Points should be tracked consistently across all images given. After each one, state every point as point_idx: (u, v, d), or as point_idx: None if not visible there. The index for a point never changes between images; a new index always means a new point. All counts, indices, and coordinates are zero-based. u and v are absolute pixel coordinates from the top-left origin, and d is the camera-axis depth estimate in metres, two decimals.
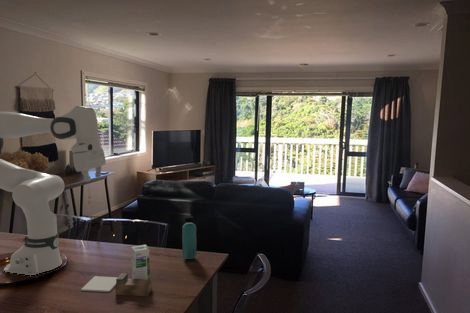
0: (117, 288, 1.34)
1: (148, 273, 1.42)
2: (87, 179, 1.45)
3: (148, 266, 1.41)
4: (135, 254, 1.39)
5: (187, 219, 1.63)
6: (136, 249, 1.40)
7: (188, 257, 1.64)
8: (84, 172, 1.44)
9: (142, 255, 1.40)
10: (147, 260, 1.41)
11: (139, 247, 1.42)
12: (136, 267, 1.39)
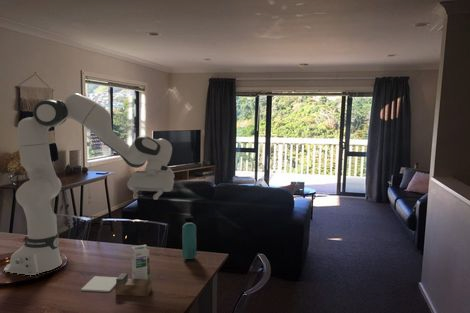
0: (117, 288, 1.34)
1: (148, 273, 1.42)
2: (157, 197, 1.52)
3: (148, 266, 1.41)
4: (135, 254, 1.39)
5: (187, 219, 1.63)
6: (136, 249, 1.40)
7: (188, 257, 1.64)
8: (161, 191, 1.54)
9: (142, 255, 1.40)
10: (147, 260, 1.41)
11: (139, 247, 1.42)
12: (136, 267, 1.39)
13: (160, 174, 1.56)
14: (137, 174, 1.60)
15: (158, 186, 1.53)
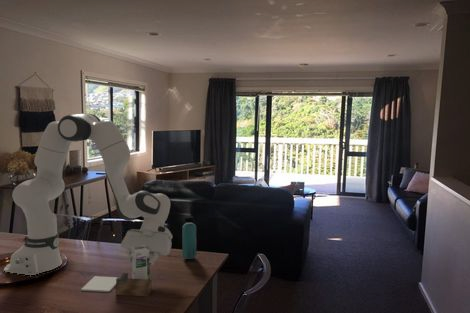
0: (117, 288, 1.34)
1: (148, 273, 1.42)
2: (153, 262, 1.41)
3: (148, 266, 1.41)
4: (135, 254, 1.39)
5: (187, 219, 1.63)
6: (136, 249, 1.40)
7: (188, 257, 1.64)
8: (157, 255, 1.43)
9: (142, 255, 1.40)
10: (147, 260, 1.41)
11: (139, 247, 1.42)
12: (136, 267, 1.39)
13: (157, 236, 1.46)
14: (132, 234, 1.49)
15: (154, 250, 1.42)
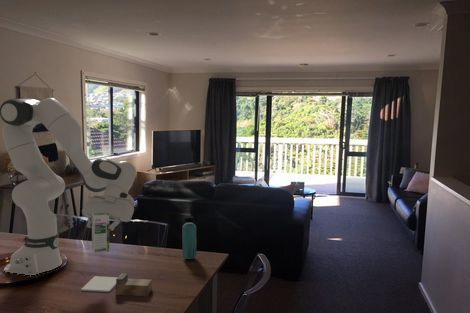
0: (117, 288, 1.34)
1: (107, 240, 1.38)
2: (113, 228, 1.38)
3: (108, 233, 1.38)
4: (94, 220, 1.35)
5: (187, 219, 1.63)
6: (96, 215, 1.37)
7: (188, 257, 1.64)
8: (118, 221, 1.39)
9: (102, 221, 1.37)
10: (107, 227, 1.38)
11: (99, 213, 1.39)
12: (95, 233, 1.36)
13: (119, 202, 1.42)
14: (94, 200, 1.45)
15: (115, 215, 1.39)
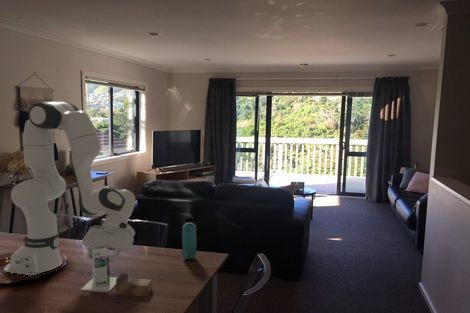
0: (117, 288, 1.34)
1: (108, 273, 1.40)
2: (113, 259, 1.39)
3: (108, 266, 1.40)
4: (94, 254, 1.37)
5: (187, 219, 1.63)
6: (95, 249, 1.38)
7: (188, 257, 1.64)
8: (118, 252, 1.41)
9: (101, 255, 1.38)
10: (107, 260, 1.39)
11: (99, 247, 1.40)
12: (95, 267, 1.37)
13: (118, 232, 1.44)
14: (94, 230, 1.47)
15: (115, 246, 1.40)
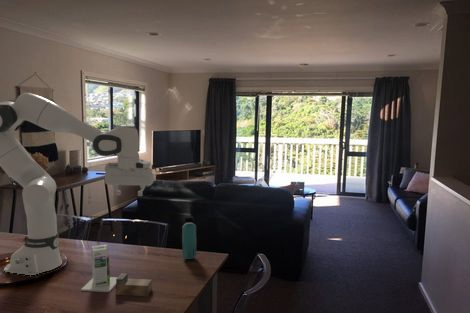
0: (117, 288, 1.34)
1: (108, 273, 1.40)
2: None
3: (108, 266, 1.40)
4: (94, 254, 1.37)
5: (187, 219, 1.63)
6: (95, 249, 1.38)
7: (188, 257, 1.64)
8: (144, 186, 1.56)
9: (101, 255, 1.38)
10: (107, 260, 1.39)
11: (99, 247, 1.40)
12: (95, 267, 1.37)
13: (137, 171, 1.53)
14: (111, 170, 1.54)
15: (139, 184, 1.54)
